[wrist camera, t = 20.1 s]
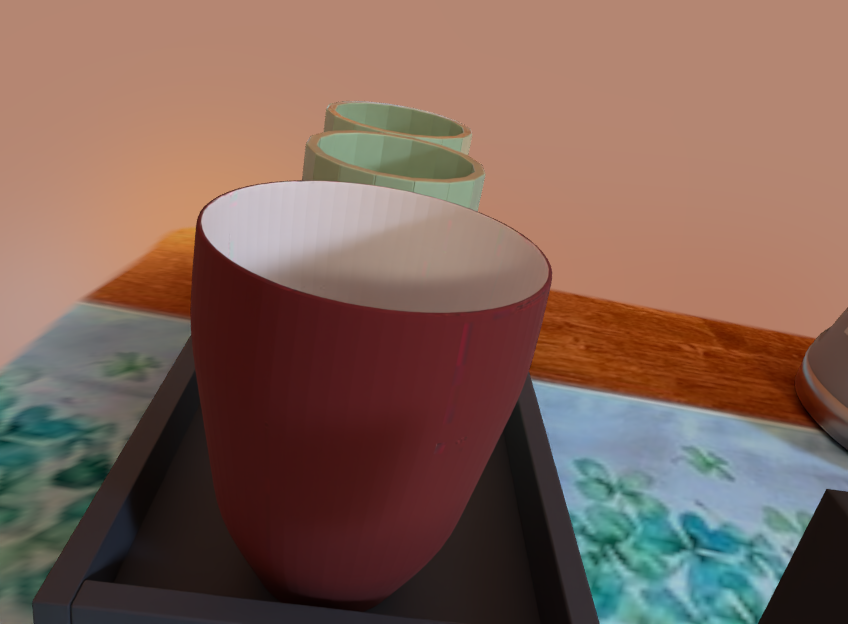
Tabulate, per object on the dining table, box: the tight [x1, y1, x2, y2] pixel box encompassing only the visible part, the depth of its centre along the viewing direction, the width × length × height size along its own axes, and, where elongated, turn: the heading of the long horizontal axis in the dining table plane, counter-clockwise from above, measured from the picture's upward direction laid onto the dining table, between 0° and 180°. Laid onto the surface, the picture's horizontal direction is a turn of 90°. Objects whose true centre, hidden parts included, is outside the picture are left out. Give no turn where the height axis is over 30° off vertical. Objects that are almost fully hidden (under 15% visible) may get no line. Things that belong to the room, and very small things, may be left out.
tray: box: [32, 336, 600, 624], centre depth 28 cm, size 13×25×3 cm, turn 0°
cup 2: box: [302, 130, 485, 212], centre depth 29 cm, size 6×6×10 cm
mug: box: [191, 180, 552, 612], centre depth 20 cm, size 10×8×10 cm
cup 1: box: [324, 101, 472, 155], centre depth 35 cm, size 6×6×10 cm
